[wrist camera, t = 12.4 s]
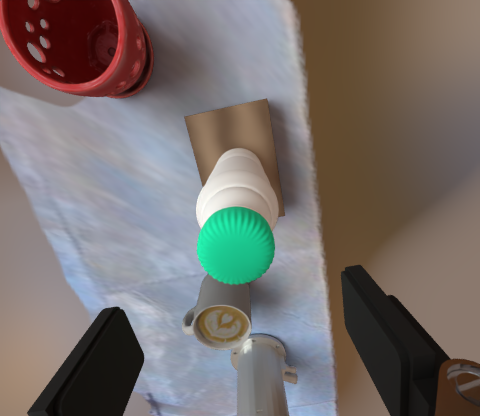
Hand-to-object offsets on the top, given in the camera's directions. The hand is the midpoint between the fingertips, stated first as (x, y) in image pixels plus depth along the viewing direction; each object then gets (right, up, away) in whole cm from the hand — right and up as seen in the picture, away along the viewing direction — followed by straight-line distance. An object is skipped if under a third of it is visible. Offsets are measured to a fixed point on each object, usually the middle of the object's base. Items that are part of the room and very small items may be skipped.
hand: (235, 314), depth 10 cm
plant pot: (-18, +27, +25) cm, 41 cm away
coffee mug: (-4, -12, +40) cm, 42 cm away
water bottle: (0, +10, +27) cm, 29 cm away
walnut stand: (0, +12, +31) cm, 33 cm away
